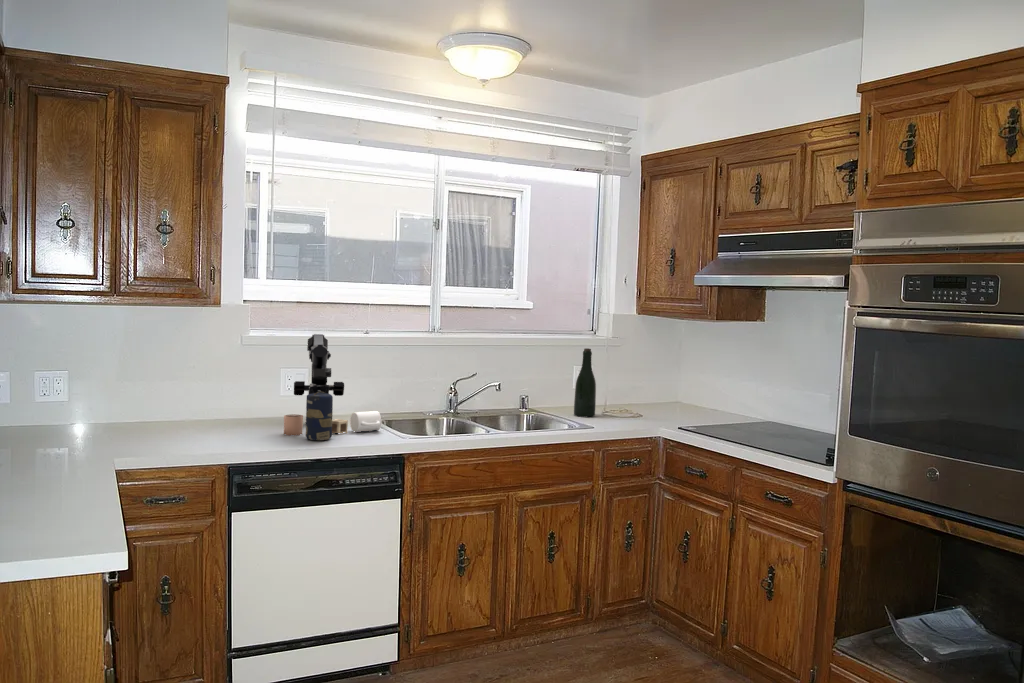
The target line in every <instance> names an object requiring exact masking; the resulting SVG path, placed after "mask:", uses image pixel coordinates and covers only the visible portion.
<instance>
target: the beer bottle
mask: <svg viewBox="0 0 1024 683" xmlns="http://www.w3.org/2000/svg"><path fill="white" fill-rule="evenodd" d="M592 356H593V351H592V349H591V348H583V351H582V363H581V368H580V371H579V373H578V376H577V378H576V380H575V388H574V402H573V415H574V416H575V415H577V416H576V417H579V416H594V417H595V415H596V399H597V381H596V377H595V375H594V370H593V366H592V359H593V358H592Z"/></svg>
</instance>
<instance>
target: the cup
mask: <svg viewBox="0 0 1024 683" xmlns="http://www.w3.org/2000/svg"><path fill="white" fill-rule="evenodd" d="M303 430H304V415H303V414H293V413H291V414H284V415H283V435H284V434H286V435H285V436H291V435H294V436H301V435H300V434H302V435H303V432H304V431H303Z"/></svg>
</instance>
